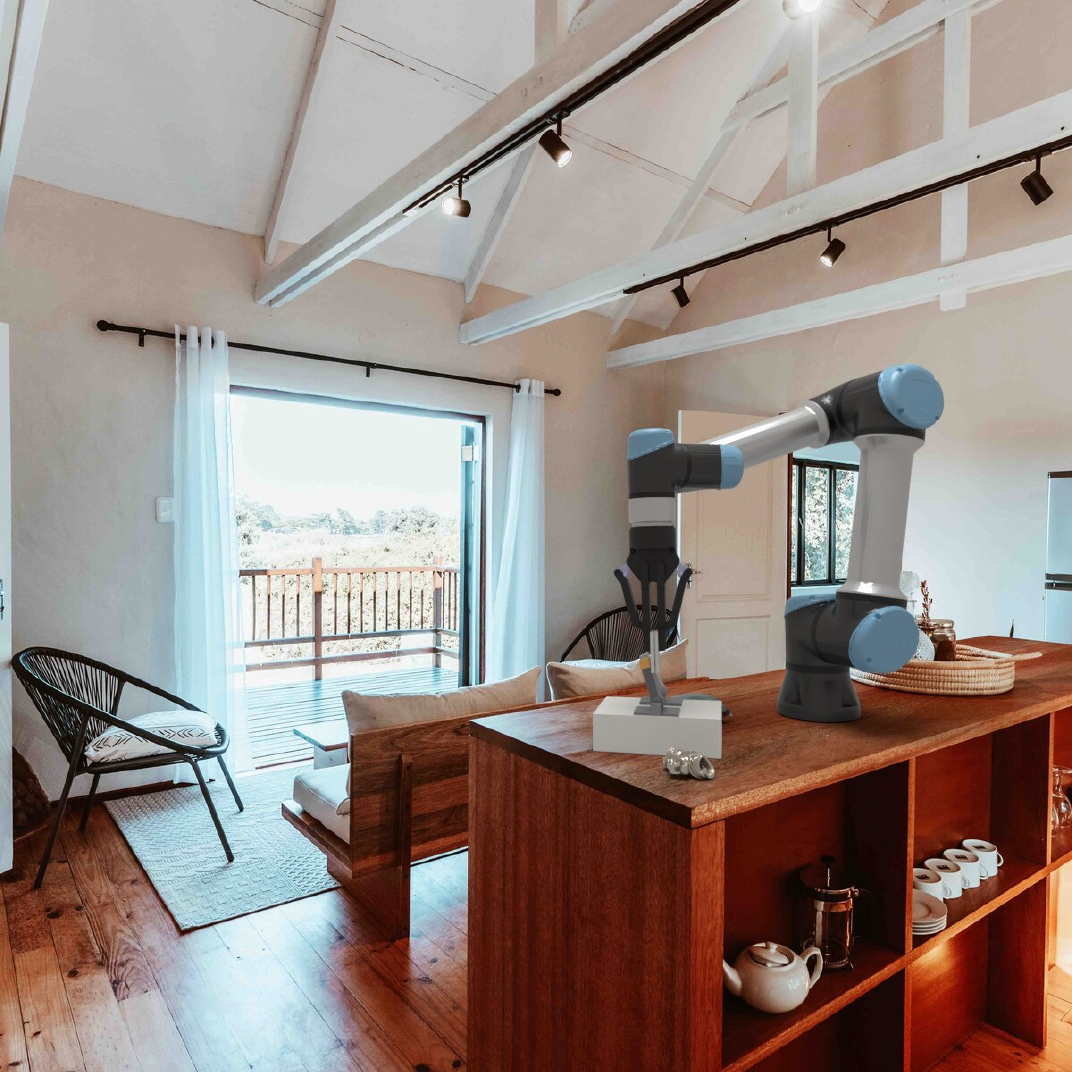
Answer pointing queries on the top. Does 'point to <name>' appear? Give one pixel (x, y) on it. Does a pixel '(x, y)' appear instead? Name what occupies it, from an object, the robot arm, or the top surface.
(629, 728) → the box
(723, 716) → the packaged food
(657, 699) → the lever
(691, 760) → the ornament
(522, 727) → the top surface
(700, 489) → the robot arm
